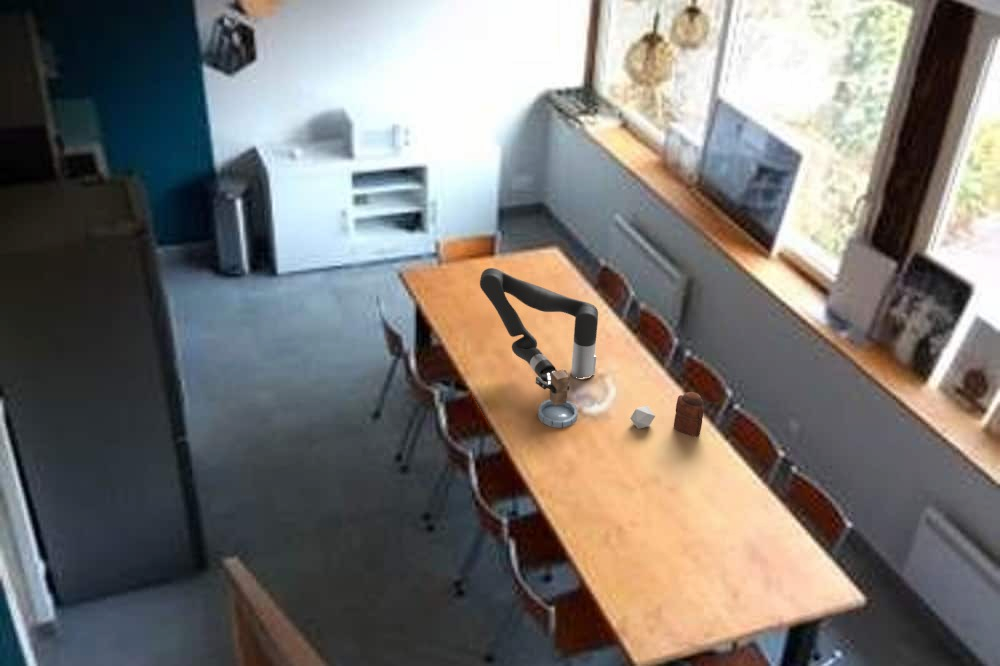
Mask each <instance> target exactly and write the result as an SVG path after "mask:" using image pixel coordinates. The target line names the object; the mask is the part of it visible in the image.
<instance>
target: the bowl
mask: <svg viewBox="0 0 1000 666" xmlns="http://www.w3.org/2000/svg"><path fill="white" fill-rule="evenodd" d="M537 414H538V415H537V417H538V419H539V420H540V421H541V424H544V425H546V426H549V427H550V428H551V427H552V428H558V429H560V428H561V429H562V428H567V427H570V426H572V425H574V423H576V422H577V420H578V407H577V406H576V405H575V404H574V403H572V401H570V400H568V399H567V400H566V403H563V404H559V405H556V406H555V405H554V404H553V402H552V401H551V400H550V399H546V400H544V401H543V402H542V403H541V404H540V405H539V406H538V413H537Z"/></svg>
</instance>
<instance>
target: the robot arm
mask: <svg viewBox="0 0 1000 666" xmlns="http://www.w3.org/2000/svg"><path fill="white" fill-rule="evenodd" d="M479 286H480V290H481V291H482V292H483V294H485V296H486V297H487V298H488V300H489V301H490V303H491V304H492V305H493V307H494V309H495V310H496V312H497V313H498V315H499V317H500V320H501V322H502V323H503V325H504V327H505V329H506V331H507V333H508V335H509V336H510V337H511V338H515V337H518V336H522V337H519V339H517V340H515V341H514V342H513V343H512V345H511V350H512V352H513V353H514V355H515V356H517V357H518V358H520V359H522V360H523V361H525V362H526V363H527V364H528V365H529V366H530V367H531V369H532V370H533V372H534V373H535V374H536V377H535V384H536V385H538V386H539V387H540V388H542V389H543V390H547V389H548V390H549V391H550V390H551V392H552V393H554V394H556V393H557V389H556V388H555V387H554V386H553V384H552V385H551V373H552V372H555V371H558V370H557V368H556V367H555V365H554V364H553V363H552V362H551V361H550V359H549V358H547V356H545V355H544V354H543V353H542V351H541V350H540V349H538V341H537V339H536V338H535V337H534V335H532V334H531V333H530V332H529V331H528V329H527V328H526V327H525V326H524V324H523V322H522V320H521V318H520V316H519V314H518V313H517V311H516V309H515V308H514V307H513V306H512V304H511V303H510V302H509V300H508V298H507V296H506V294H509V295H511V296H513V297H515V299H517V300H518V301H520V302H521V303H523V304H524V305H526V306H528V307H530V308H532V309H535V310H537V311H540V312H545V313H556V312H557V313H564V314H568V315H570V316H572V317H574V319H575V320H574V330H573V331H574V333H573V342H572V343H573V344H572V358H571V370H570V371H571V372H570V373H571V376H572V377H573V378H574V377H575V378H574V379H576V377H577V378H583V377H589V376H591V375H593V374H595V375H596V365H597V356H596V355H595V353H596V341H597V335H598V324H599V323H598V319H599V311H598V309H597V307H596V306H595V305H593V303H590V302H586V301H582V300H578V299H575V298H572V297H568V296H565V295H563V294H561V293H557V292H554V291H552V290H550V289H547V288H544V287H541V286H538V285H537V284H533V283H530V282H529V281H525V280H521V279H519V278H516V277H513V276H511V275H509V274H507V273H506V272H504V271H502V270H500V269H497V268H493V267H491V268H490V267H489V268H486V269H485V270H483V271H482V273H481V275H480V280H479ZM563 370H564V369H563ZM564 372H565V373H566V374H567V375H568V372H567V370H564ZM568 376H569V375H568ZM593 376H594V375H593ZM569 380H570V378H569V379H568V388H567V392H569V391H570V383H569Z"/></svg>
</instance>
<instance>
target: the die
mask: <svg viewBox="0 0 1000 666" xmlns="http://www.w3.org/2000/svg"><path fill="white" fill-rule="evenodd" d="M655 417H656V415H655V414H654V412H653V411H652V410H651V409H650V407H649V406H648V405H643V406H640V407H636V408H635V410H634V411H633V413H632V415H631V416H630V418H629V419H630V420H631V422H632V423H633V424H634V425H635V427H636V428H637V429H638V430H640V429H642V428H647V427H650V425H651V424H652V422H653V420H654V419H655Z"/></svg>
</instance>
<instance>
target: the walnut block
mask: <svg viewBox="0 0 1000 666" xmlns="http://www.w3.org/2000/svg"><path fill="white" fill-rule="evenodd" d="M567 374H568V373H567ZM567 374H566V373H565V372H564V369H559V370H557V371H555V372H552V373H551V385H552V384H553V386H554V387H555V388H556V389H557V393H556V394H554V393H552V392H551V390H550V389H549V397H548V398H549V399H550V400H551V401H552V402H553V404H554V405H555V406H556V405H559V404H563V403H566V400H567V401H568V399H567V398H568V391H567V388H568V384H569V383H568V379H569V380H570V377H569V375H567ZM549 399H548V400H549Z"/></svg>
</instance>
